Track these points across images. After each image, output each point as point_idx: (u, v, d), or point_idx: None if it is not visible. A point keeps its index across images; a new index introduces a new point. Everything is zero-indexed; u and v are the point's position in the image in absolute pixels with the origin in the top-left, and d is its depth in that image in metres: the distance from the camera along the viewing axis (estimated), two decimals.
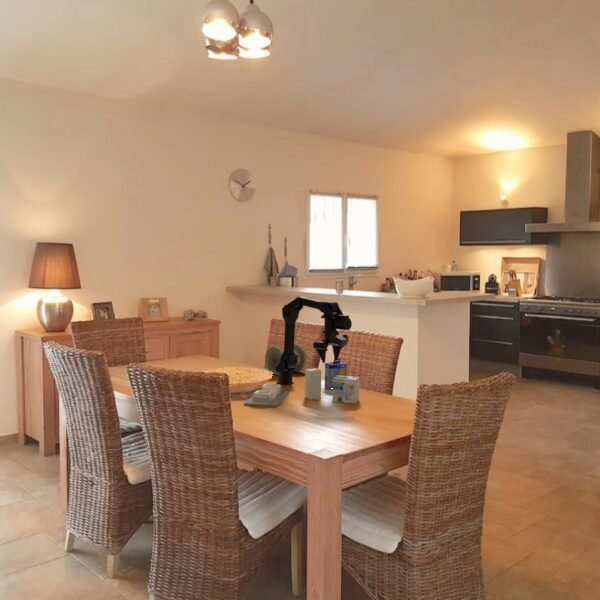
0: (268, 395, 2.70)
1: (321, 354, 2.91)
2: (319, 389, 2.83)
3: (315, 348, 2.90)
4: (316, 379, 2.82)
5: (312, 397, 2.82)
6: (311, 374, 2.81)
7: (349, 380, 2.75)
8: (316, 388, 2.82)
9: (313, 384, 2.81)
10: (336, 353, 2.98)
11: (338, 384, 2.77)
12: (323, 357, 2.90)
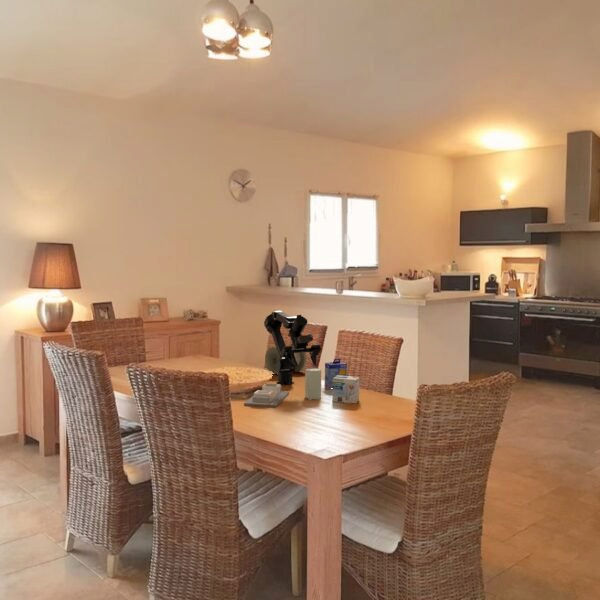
0: (268, 395, 2.70)
1: (292, 360, 2.91)
2: (319, 389, 2.83)
3: (284, 357, 2.93)
4: (316, 379, 2.82)
5: (312, 397, 2.82)
6: (311, 374, 2.81)
7: (349, 380, 2.75)
8: (316, 388, 2.82)
9: (313, 384, 2.81)
10: (313, 359, 2.94)
11: (338, 384, 2.77)
12: (294, 361, 2.90)
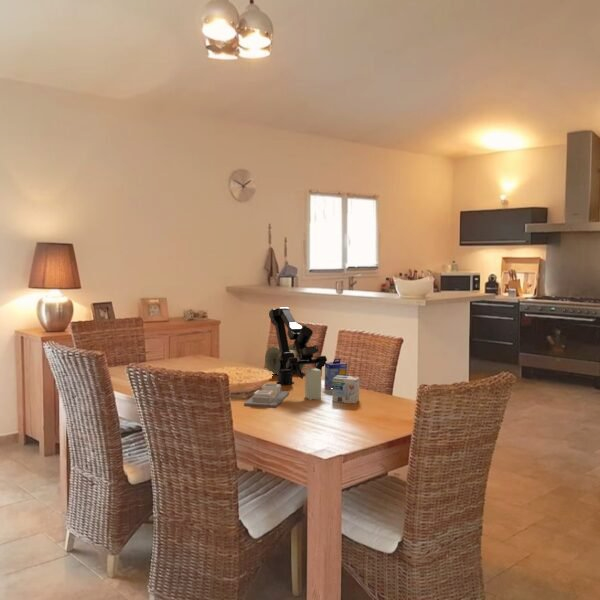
0: (268, 395, 2.70)
1: (297, 372, 2.86)
2: (319, 389, 2.83)
3: (289, 369, 2.88)
4: (316, 379, 2.82)
5: (312, 397, 2.82)
6: (311, 374, 2.81)
7: (349, 380, 2.75)
8: (316, 388, 2.82)
9: (313, 384, 2.81)
10: None
11: (338, 384, 2.77)
12: (299, 372, 2.84)
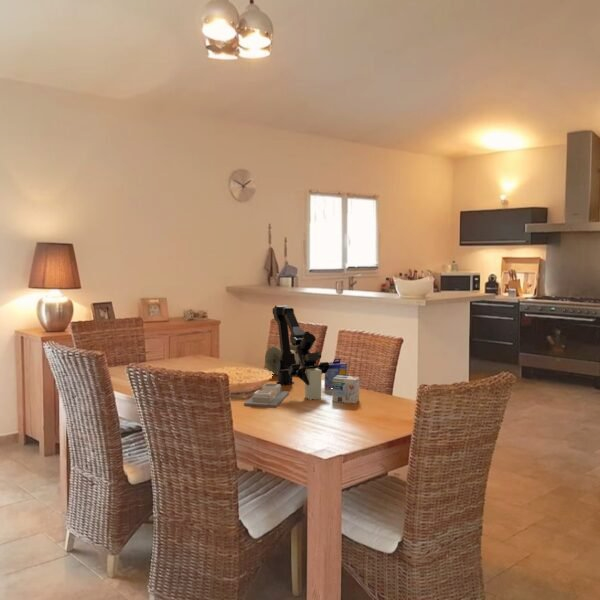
0: (268, 395, 2.70)
1: (303, 378, 2.84)
2: (319, 389, 2.83)
3: None
4: (316, 379, 2.82)
5: (312, 397, 2.82)
6: (311, 374, 2.81)
7: (349, 380, 2.75)
8: (316, 388, 2.82)
9: (313, 383, 2.81)
10: None
11: (338, 384, 2.77)
12: (305, 379, 2.82)
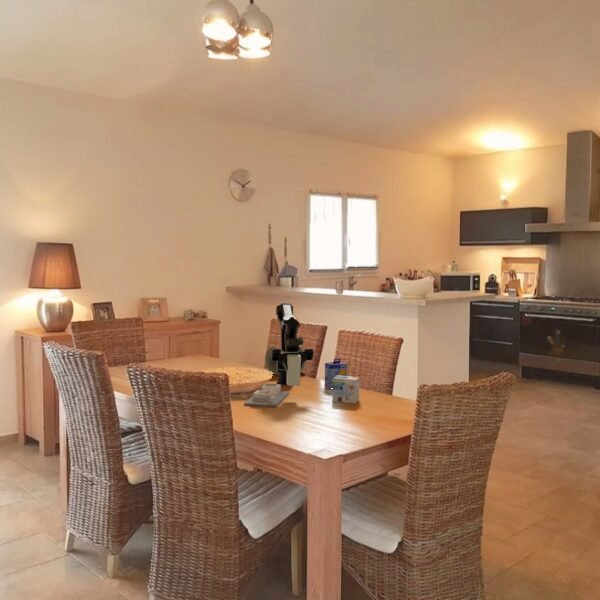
0: (268, 395, 2.70)
1: (283, 363, 2.81)
2: (298, 376, 2.78)
3: (278, 360, 2.84)
4: (295, 365, 2.78)
5: (290, 383, 2.78)
6: (289, 360, 2.77)
7: (349, 380, 2.75)
8: (295, 375, 2.78)
9: (291, 369, 2.78)
10: None
11: (338, 384, 2.77)
12: (284, 364, 2.80)
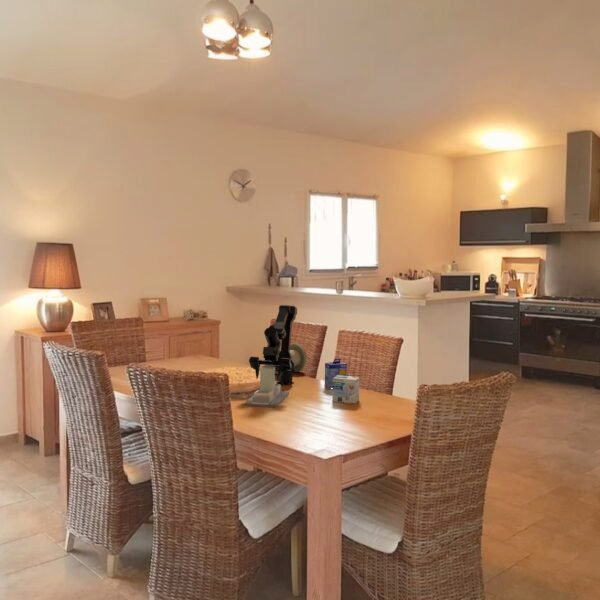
0: (268, 395, 2.70)
1: None
2: (270, 388, 2.78)
3: (253, 368, 2.87)
4: (267, 377, 2.78)
5: None
6: (261, 371, 2.78)
7: (349, 380, 2.75)
8: (267, 386, 2.78)
9: (263, 381, 2.78)
10: None
11: (338, 384, 2.77)
12: None
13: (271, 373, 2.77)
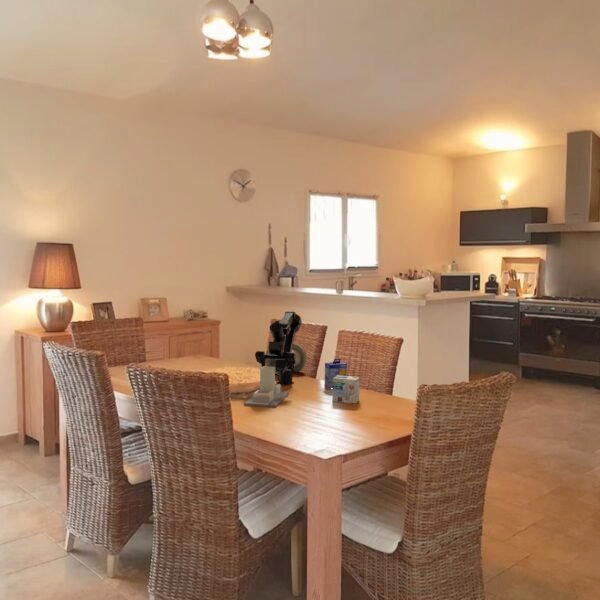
0: (268, 395, 2.70)
1: (262, 365, 2.92)
2: (270, 388, 2.78)
3: (259, 362, 2.96)
4: (267, 377, 2.78)
5: None
6: (261, 371, 2.78)
7: (349, 380, 2.75)
8: (267, 386, 2.78)
9: (263, 381, 2.78)
10: None
11: (338, 384, 2.77)
12: None
13: (271, 373, 2.77)
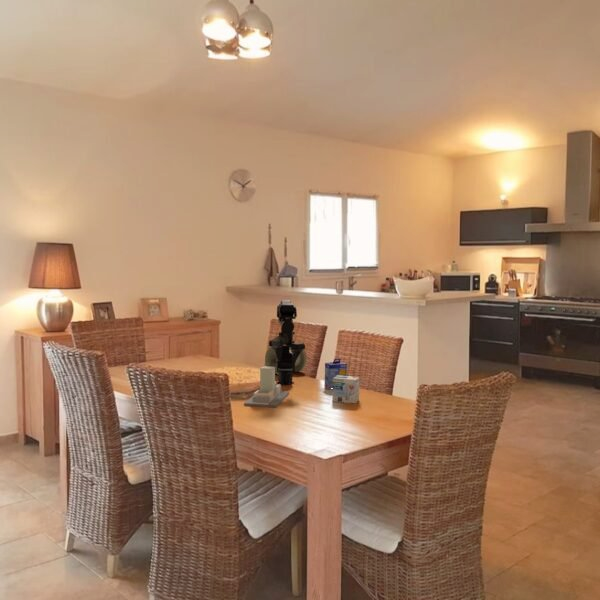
0: (268, 395, 2.70)
1: None
2: (270, 388, 2.78)
3: None
4: (267, 377, 2.78)
5: None
6: (261, 371, 2.78)
7: (349, 380, 2.75)
8: (267, 386, 2.78)
9: (263, 381, 2.78)
10: None
11: (338, 384, 2.77)
12: None
13: (271, 373, 2.77)
